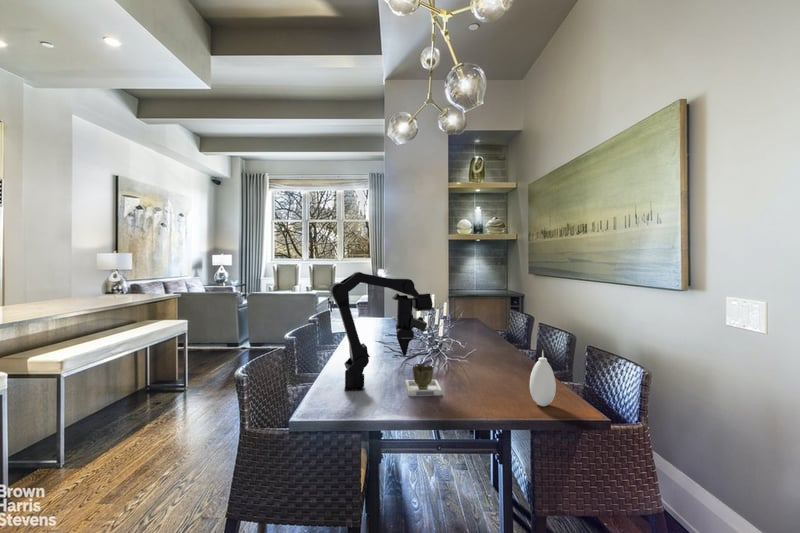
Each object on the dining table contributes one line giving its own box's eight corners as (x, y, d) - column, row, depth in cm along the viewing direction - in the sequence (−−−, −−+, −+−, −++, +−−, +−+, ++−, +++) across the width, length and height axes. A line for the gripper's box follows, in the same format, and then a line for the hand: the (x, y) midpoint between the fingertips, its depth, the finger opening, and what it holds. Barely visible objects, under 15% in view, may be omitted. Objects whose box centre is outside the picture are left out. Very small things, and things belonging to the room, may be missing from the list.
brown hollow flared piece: (409, 390, 136) (409, 368, 135) (416, 384, 142) (416, 363, 142) (429, 393, 133) (429, 370, 133) (435, 387, 140) (435, 365, 139)
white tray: (408, 396, 131) (408, 390, 131) (405, 385, 143) (405, 380, 143) (441, 396, 132) (441, 390, 132) (436, 384, 144) (436, 379, 144)
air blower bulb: (525, 401, 127) (526, 347, 127) (548, 400, 128) (548, 347, 128) (535, 410, 120) (536, 353, 119) (559, 409, 120) (560, 352, 120)
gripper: (428, 315, 136) (427, 358, 136) (423, 308, 155) (423, 347, 155) (397, 314, 136) (396, 358, 136) (396, 308, 155) (395, 346, 155)
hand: (404, 352), depth 146 cm, fingers open, 9 cm apart
